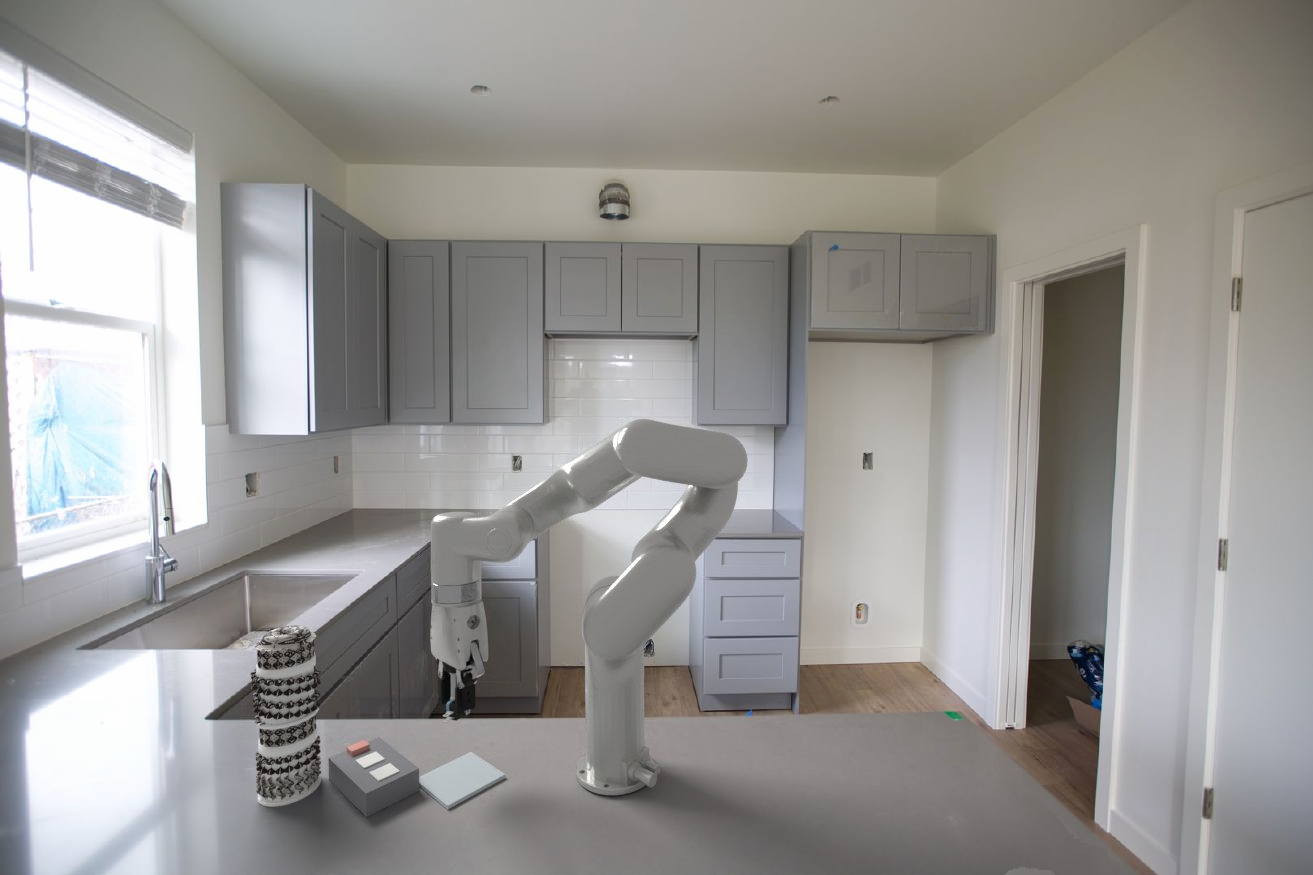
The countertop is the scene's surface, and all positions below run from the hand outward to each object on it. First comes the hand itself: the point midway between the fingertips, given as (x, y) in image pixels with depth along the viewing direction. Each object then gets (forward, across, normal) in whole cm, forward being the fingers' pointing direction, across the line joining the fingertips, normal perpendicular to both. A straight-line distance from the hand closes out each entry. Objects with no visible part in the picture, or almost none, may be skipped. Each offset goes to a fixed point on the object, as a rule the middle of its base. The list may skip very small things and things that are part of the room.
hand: (457, 704), depth 92 cm
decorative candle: (+13, +18, +18) cm, 29 cm away
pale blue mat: (+12, 0, 0) cm, 12 cm away
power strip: (+12, +9, +9) cm, 18 cm away
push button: (+2, 0, 0) cm, 2 cm away
